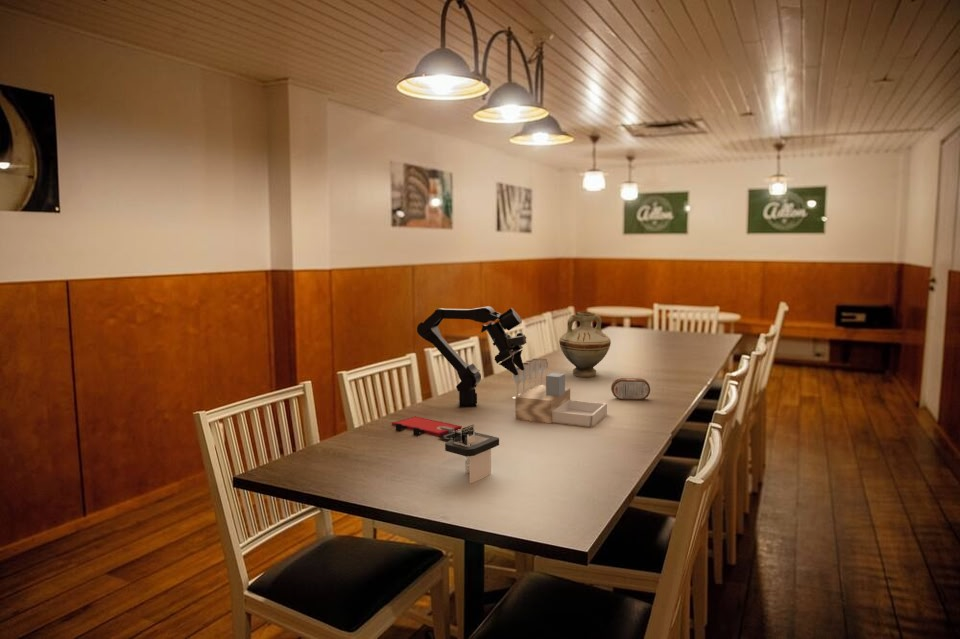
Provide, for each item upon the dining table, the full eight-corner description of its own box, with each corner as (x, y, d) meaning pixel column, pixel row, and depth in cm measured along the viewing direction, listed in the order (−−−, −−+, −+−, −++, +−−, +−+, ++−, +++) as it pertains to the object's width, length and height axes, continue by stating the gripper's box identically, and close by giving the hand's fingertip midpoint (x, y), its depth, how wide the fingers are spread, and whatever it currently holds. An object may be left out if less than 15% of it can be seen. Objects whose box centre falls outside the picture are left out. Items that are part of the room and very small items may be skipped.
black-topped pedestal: (466, 453, 186) (466, 409, 185) (539, 472, 170) (539, 424, 168) (398, 481, 165) (396, 432, 163) (474, 506, 148) (473, 452, 147)
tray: (550, 422, 216) (550, 411, 216) (567, 409, 232) (567, 399, 232) (591, 427, 209) (591, 416, 209) (606, 414, 225) (606, 403, 225)
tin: (649, 398, 247) (649, 377, 246) (650, 400, 244) (651, 379, 243) (611, 398, 249) (611, 377, 248) (611, 400, 246) (612, 379, 245)
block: (546, 395, 222) (546, 375, 221) (552, 391, 228) (552, 372, 227) (559, 396, 220) (559, 377, 219) (565, 392, 225) (565, 373, 224)
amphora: (617, 373, 296) (618, 310, 293) (598, 382, 276) (599, 316, 273) (571, 368, 309) (571, 308, 305) (550, 377, 289) (550, 313, 285)
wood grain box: (515, 418, 221) (515, 396, 220) (536, 405, 239) (536, 385, 238) (550, 423, 215) (550, 400, 214) (570, 409, 233) (570, 388, 232)
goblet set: (521, 400, 248) (521, 367, 247) (508, 398, 251) (508, 366, 250) (550, 385, 272) (550, 356, 271) (538, 384, 275) (538, 355, 274)
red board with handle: (448, 444, 194) (478, 434, 206) (447, 435, 194) (478, 425, 205) (383, 429, 213) (415, 420, 225) (383, 421, 213) (414, 412, 224)
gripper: (510, 329, 223) (532, 367, 222) (522, 323, 240) (543, 357, 239) (485, 344, 226) (506, 381, 225) (499, 337, 244) (519, 371, 243)
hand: (520, 372), depth 233 cm, fingers open, 9 cm apart
